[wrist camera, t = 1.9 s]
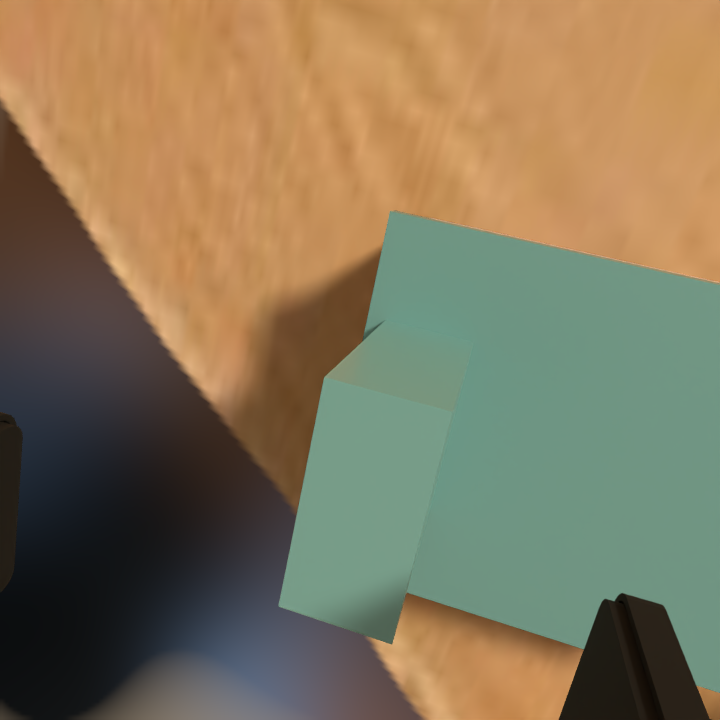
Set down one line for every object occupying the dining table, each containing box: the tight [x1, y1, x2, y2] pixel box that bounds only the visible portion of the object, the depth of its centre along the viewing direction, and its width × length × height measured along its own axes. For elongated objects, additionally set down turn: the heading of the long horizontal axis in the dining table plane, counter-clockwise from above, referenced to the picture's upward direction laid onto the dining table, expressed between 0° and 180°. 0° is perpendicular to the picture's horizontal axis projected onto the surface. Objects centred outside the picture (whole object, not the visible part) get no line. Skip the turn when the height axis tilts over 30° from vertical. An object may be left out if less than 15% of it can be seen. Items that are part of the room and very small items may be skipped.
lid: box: [279, 211, 720, 693], centre depth 15 cm, size 15×11×8 cm
